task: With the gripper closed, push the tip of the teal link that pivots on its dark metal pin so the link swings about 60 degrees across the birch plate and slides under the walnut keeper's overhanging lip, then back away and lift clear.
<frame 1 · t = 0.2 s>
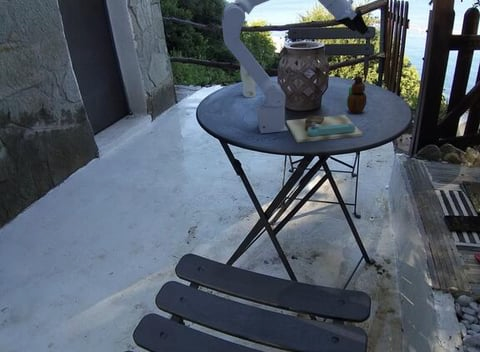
hand: (360, 30, 118), 31 cm above the table, tool tilted 45°, fingers open, 7 cm apart
teal link: (331, 126, 122), point 3 cm above the table, hinge at -60.0°
birch plate: (322, 129, 129), on the table
beer glass: (249, 95, 166), on the table
wooden figurine: (355, 112, 141), on the table
green block: (356, 102, 151), on the table
walnut keeper: (313, 137, 124), resting on birch plate
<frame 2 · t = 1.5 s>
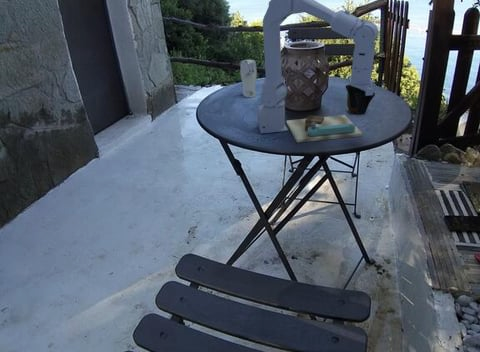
hand: (357, 110, 115), 10 cm above the table, tool pointing down, fingers open, 5 cm apart
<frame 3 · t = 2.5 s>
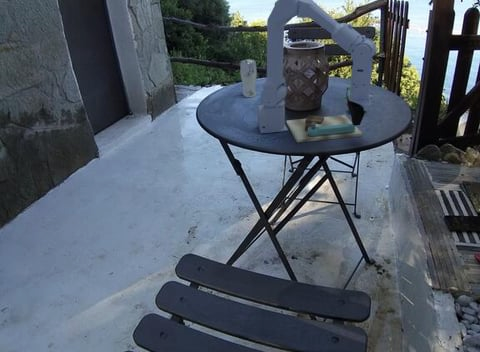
hand: (356, 124, 118), 5 cm above the table, tool pointing down, fingers closed
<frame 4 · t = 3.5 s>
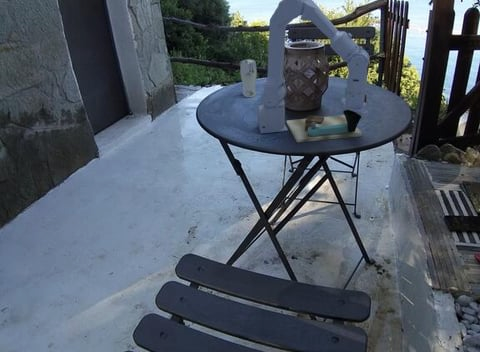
hand: (351, 131, 122), 2 cm above the table, tool pointing down, fingers closed, pressing on teal link
teal link: (331, 126, 122), point 3 cm above the table, hinge at -59.0°, touching gripper
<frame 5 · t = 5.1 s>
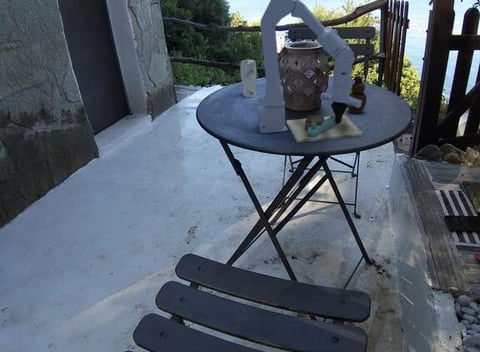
hand: (338, 122, 129), 2 cm above the table, tool pointing down, fingers closed, pressing on teal link
teal link: (324, 122, 126), point 3 cm above the table, hinge at -20.8°, touching gripper
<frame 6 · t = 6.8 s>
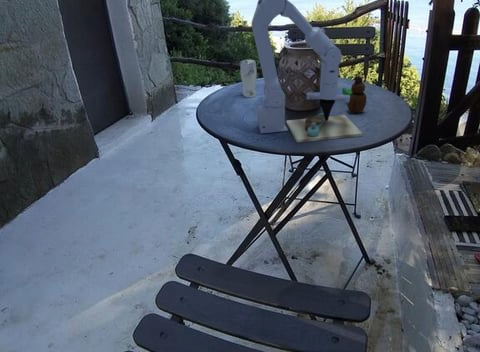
hand: (326, 119, 132), 2 cm above the table, tool pointing down, fingers closed
teal link: (317, 121, 127), point 3 cm above the table, hinge at 2.0°, touching gripper
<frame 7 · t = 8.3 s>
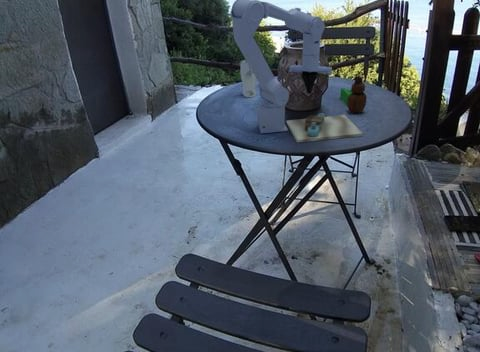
hand: (309, 92, 133), 10 cm above the table, tool pointing down, fingers closed
teal link: (317, 121, 127), point 3 cm above the table, hinge at 2.2°
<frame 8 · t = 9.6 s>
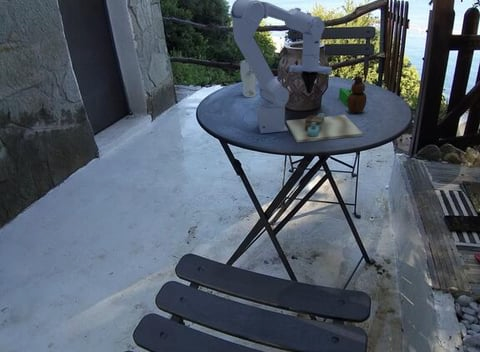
hand: (309, 92, 133), 10 cm above the table, tool pointing down, fingers closed
at the end: teal link at +2° (first picture: -60°); wooden figurine moved 0.2 cm from its start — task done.
